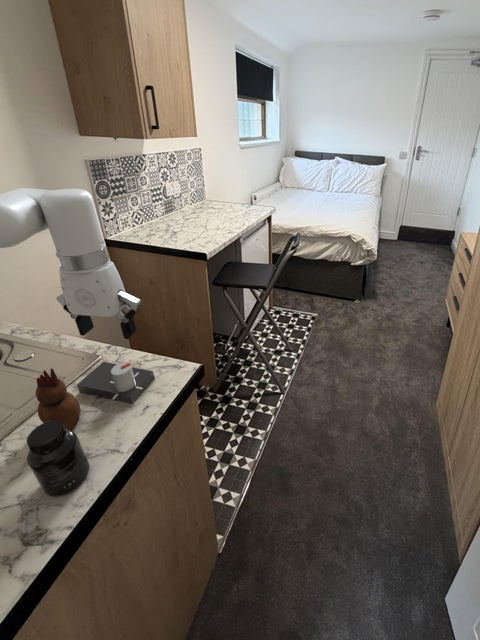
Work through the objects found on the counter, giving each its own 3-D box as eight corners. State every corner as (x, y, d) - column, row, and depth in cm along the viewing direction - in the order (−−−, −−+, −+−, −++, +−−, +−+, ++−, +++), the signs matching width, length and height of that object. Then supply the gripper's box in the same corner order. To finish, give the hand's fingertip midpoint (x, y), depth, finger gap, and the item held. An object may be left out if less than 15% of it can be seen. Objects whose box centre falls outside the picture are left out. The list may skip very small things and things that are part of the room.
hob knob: (120, 395, 71) (114, 376, 68) (113, 385, 73) (107, 367, 71) (138, 385, 73) (133, 367, 71) (131, 376, 76) (126, 358, 73)
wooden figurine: (90, 418, 68) (69, 363, 62) (63, 442, 63) (37, 384, 57) (67, 409, 70) (44, 354, 64) (40, 430, 65) (12, 374, 59)
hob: (73, 398, 73) (70, 389, 72) (105, 369, 81) (103, 360, 80) (131, 411, 70) (129, 402, 69) (159, 379, 78) (157, 371, 77)
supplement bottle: (39, 479, 57) (14, 432, 52) (83, 452, 61) (64, 407, 56) (49, 508, 53) (23, 461, 47) (96, 477, 57) (76, 431, 52)
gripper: (25, 263, 58) (56, 341, 65) (115, 269, 56) (137, 348, 63) (58, 248, 64) (83, 320, 72) (140, 252, 62) (157, 325, 70)
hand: (108, 333), depth 67 cm, fingers open, 9 cm apart
